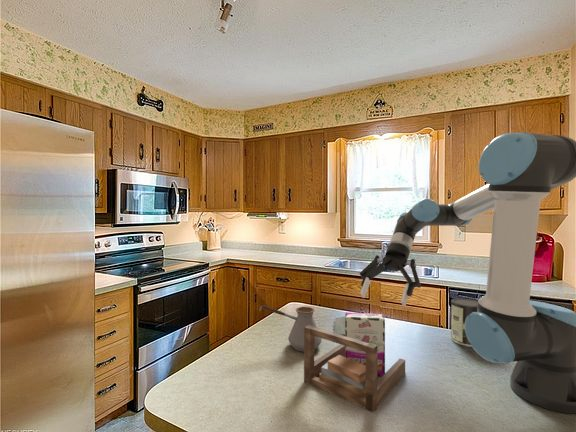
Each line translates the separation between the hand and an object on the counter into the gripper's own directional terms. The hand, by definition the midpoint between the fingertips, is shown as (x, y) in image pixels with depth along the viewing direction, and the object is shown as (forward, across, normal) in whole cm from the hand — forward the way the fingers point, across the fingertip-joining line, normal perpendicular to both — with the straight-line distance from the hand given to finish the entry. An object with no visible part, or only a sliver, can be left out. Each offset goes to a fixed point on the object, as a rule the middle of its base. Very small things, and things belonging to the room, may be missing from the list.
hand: (381, 299), depth 100 cm
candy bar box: (+22, 0, -4) cm, 22 cm away
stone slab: (+3, +21, -24) cm, 32 cm away
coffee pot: (+23, +26, -3) cm, 35 cm away
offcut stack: (+29, 0, +3) cm, 29 cm away
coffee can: (-9, -19, -35) cm, 41 cm away
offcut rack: (+25, 0, -1) cm, 25 cm away
